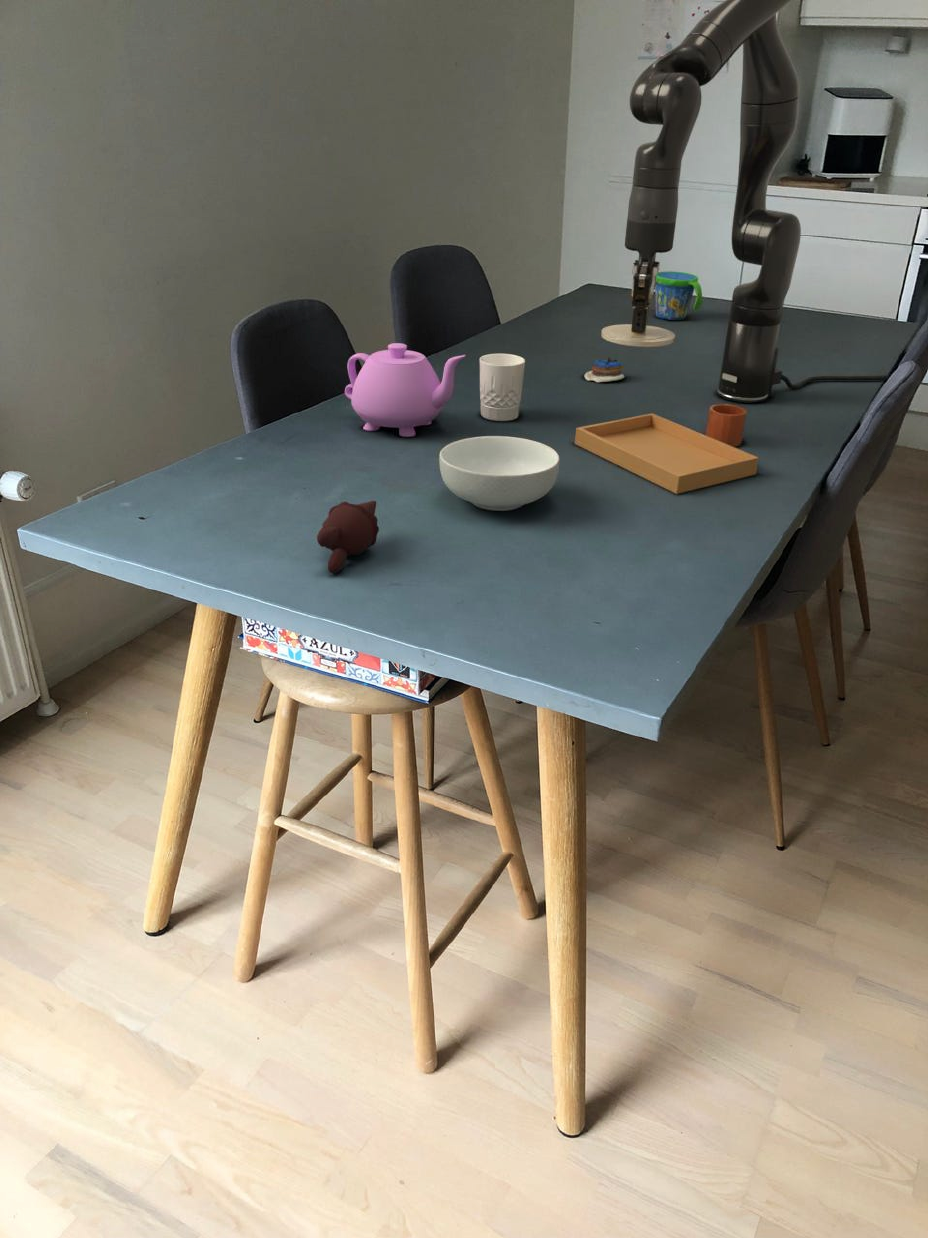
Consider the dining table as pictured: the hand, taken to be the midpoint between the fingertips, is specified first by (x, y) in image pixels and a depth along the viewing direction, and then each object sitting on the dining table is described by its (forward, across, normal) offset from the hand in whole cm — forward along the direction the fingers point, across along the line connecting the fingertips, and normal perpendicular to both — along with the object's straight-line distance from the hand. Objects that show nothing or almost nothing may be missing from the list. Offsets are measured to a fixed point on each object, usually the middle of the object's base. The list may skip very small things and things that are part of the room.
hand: (638, 329), depth 164 cm
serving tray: (+17, -12, -7) cm, 22 cm away
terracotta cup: (+17, 0, -16) cm, 24 cm away
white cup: (+17, +1, +23) cm, 29 cm away
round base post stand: (+1, 0, 0) cm, 1 cm away
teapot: (+18, -10, +37) cm, 42 cm away
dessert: (+17, +31, +8) cm, 37 cm away
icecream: (+18, -59, +29) cm, 68 cm away
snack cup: (+17, +90, -2) cm, 92 cm away
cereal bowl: (+18, -37, +15) cm, 43 cm away
